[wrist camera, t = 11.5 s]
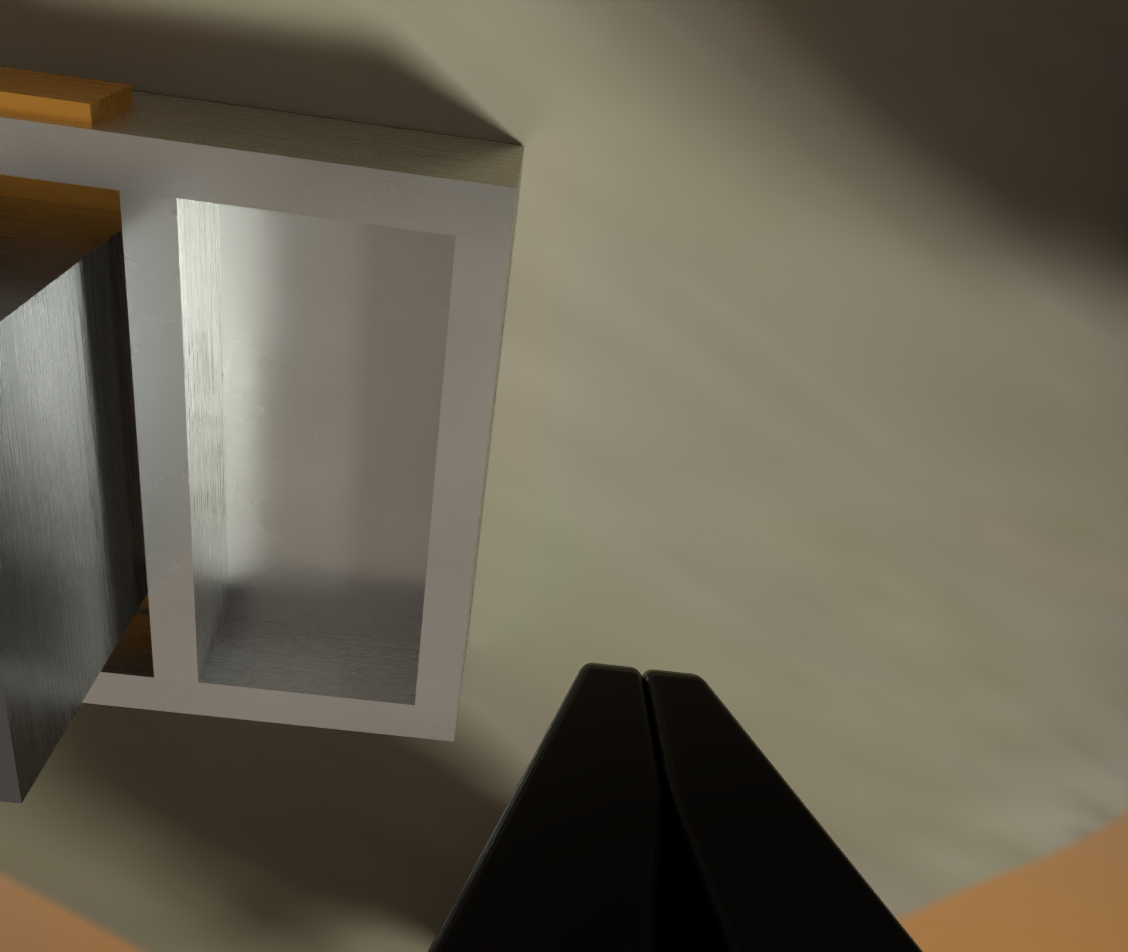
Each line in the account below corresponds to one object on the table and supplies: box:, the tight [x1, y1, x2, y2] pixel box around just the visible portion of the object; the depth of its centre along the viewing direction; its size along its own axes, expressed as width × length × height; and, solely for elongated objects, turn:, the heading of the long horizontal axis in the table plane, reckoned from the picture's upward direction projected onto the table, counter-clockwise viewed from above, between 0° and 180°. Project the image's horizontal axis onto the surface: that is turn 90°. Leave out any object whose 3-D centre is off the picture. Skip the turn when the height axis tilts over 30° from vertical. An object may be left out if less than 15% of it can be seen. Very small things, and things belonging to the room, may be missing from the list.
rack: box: [0, 67, 524, 742], centre depth 18 cm, size 15×11×3 cm
